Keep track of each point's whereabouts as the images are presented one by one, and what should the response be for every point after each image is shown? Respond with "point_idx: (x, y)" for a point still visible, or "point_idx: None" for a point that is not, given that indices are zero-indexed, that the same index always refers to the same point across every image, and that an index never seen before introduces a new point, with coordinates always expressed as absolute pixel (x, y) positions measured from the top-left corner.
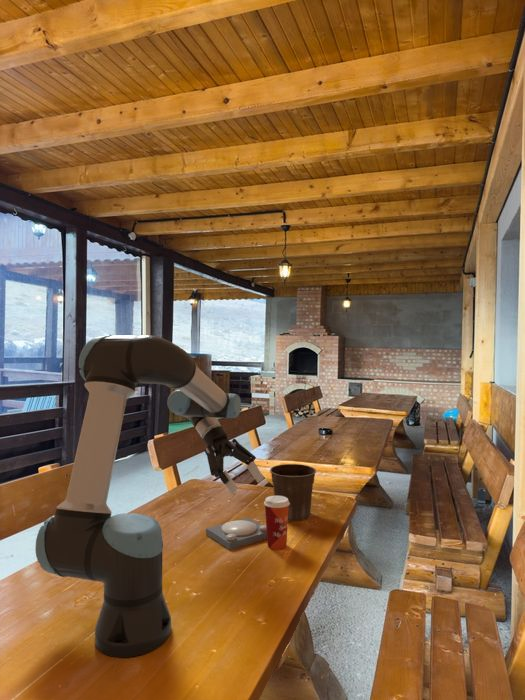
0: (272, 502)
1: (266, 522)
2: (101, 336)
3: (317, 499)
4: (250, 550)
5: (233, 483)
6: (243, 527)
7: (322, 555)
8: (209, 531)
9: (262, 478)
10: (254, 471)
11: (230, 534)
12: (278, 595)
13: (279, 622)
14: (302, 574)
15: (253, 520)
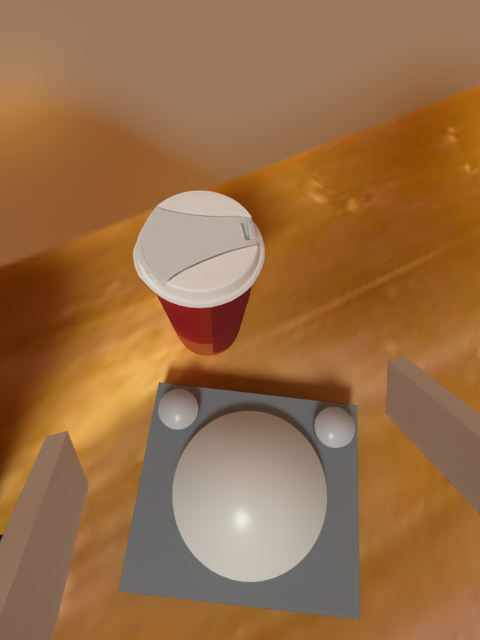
0: (248, 223)
1: (244, 308)
2: None
3: None
4: (294, 359)
5: (428, 380)
6: (241, 469)
7: None
8: (357, 577)
9: (68, 437)
10: (52, 540)
11: (331, 440)
12: (377, 164)
13: (427, 116)
14: (277, 183)
15: (131, 533)
